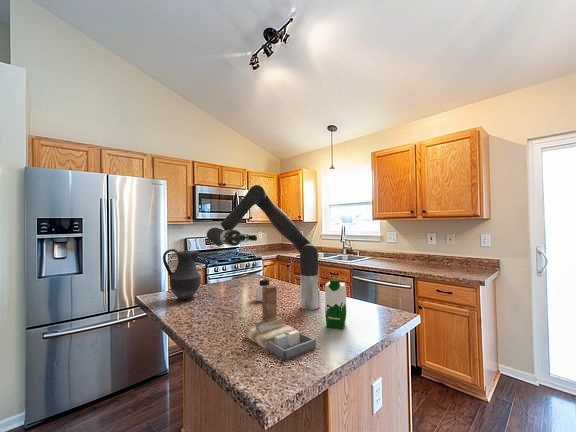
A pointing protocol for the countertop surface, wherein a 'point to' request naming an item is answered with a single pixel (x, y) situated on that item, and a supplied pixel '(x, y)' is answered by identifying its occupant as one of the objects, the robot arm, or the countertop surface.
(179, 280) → the pitcher
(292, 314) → the countertop surface
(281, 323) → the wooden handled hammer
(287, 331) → the light wood board
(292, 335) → the tile
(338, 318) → the milk carton
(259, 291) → the medicine bottle
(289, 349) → the tray
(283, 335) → the tile
